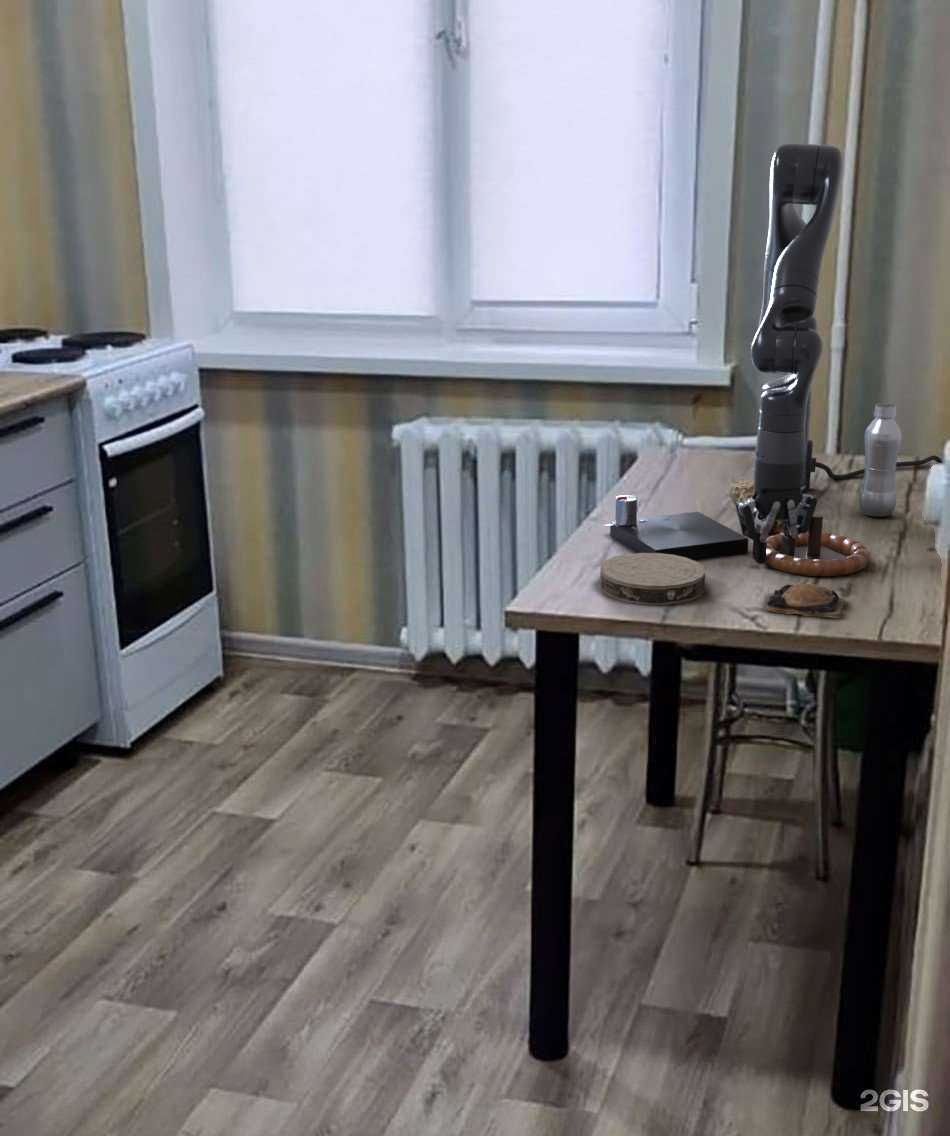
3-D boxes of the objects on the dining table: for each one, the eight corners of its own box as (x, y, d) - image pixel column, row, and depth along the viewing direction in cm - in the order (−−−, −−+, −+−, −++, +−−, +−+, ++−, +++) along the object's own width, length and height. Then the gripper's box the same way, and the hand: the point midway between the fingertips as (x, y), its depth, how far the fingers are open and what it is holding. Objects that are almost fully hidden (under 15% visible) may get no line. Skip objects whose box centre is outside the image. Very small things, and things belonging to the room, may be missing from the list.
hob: (692, 522, 242) (693, 507, 241) (747, 552, 225) (748, 537, 224) (595, 533, 236) (595, 519, 235) (644, 566, 219) (645, 550, 218)
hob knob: (630, 519, 235) (631, 492, 233) (640, 525, 231) (641, 497, 230) (611, 521, 234) (612, 494, 232) (620, 527, 230) (621, 499, 229)
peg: (819, 551, 225) (823, 506, 223) (848, 565, 218) (852, 519, 216) (777, 556, 223) (780, 511, 220) (805, 571, 216) (808, 524, 213)
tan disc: (707, 574, 215) (708, 556, 214) (700, 608, 200) (701, 589, 199) (607, 567, 218) (607, 549, 217) (592, 601, 203) (593, 582, 202)
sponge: (805, 543, 233) (806, 490, 250) (799, 503, 229) (800, 452, 246) (727, 552, 237) (733, 499, 254) (721, 512, 233) (727, 461, 250)
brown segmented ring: (828, 539, 231) (829, 525, 230) (891, 570, 216) (892, 555, 215) (737, 551, 225) (738, 536, 225) (796, 583, 210) (797, 568, 209)
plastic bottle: (895, 511, 247) (906, 402, 240) (893, 522, 241) (904, 410, 234) (858, 508, 249) (868, 400, 242) (856, 519, 243) (865, 408, 236)
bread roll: (845, 602, 202) (847, 579, 201) (838, 621, 195) (840, 597, 194) (773, 594, 206) (775, 570, 205) (763, 612, 198) (765, 588, 197)
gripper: (752, 466, 207) (746, 573, 212) (833, 457, 211) (824, 562, 217) (727, 455, 213) (722, 559, 219) (805, 447, 218) (798, 549, 223)
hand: (773, 560), depth 218 cm, fingers open, 4 cm apart
